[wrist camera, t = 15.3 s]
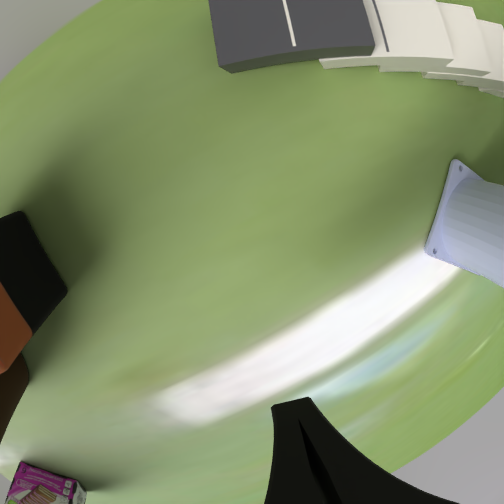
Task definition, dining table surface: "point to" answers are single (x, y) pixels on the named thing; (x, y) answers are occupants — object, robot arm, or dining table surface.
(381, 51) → the domino
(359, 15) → the domino
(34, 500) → the candy bar box
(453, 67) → the domino
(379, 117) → the dining table surface
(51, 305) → the battery
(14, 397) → the olive oil
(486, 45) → the domino
